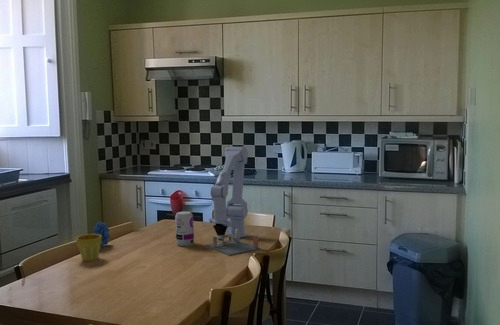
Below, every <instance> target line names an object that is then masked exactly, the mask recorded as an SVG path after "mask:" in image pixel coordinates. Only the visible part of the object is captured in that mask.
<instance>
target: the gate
mask: <svg viewBox="0 0 500 325" xmlns="http://www.w3.org/2000/svg"><path fill="white" fill-rule="evenodd" d="M225 234H226V235H221V236H212V243H213V246H214V247H217V246H222V245H227V244H232V243H236V242H235V239H236V238H235V233H231V234H227V233H225ZM232 236H233V238H232ZM226 238H228V240H229V241H228V242H224V241H225V239H226ZM218 239H221V241H220V242H222V243H217V242H218ZM232 239H233V241H231V240H232Z"/></svg>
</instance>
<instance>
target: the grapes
mask: <svg viewBox="0 0 500 325" xmlns="http://www.w3.org/2000/svg"><path fill="white" fill-rule="evenodd" d="M92 230H93V233H92V234H99V235H101V236H102V244H100V248H103V247H104V246H106V245H108V243H109V239H110V238H111V235H110V234H109V232H110V228H109V227H108V226H107V224H106V223H105V222H100V221H98V222H97V223H96V225H95V226H93V229H92Z"/></svg>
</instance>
